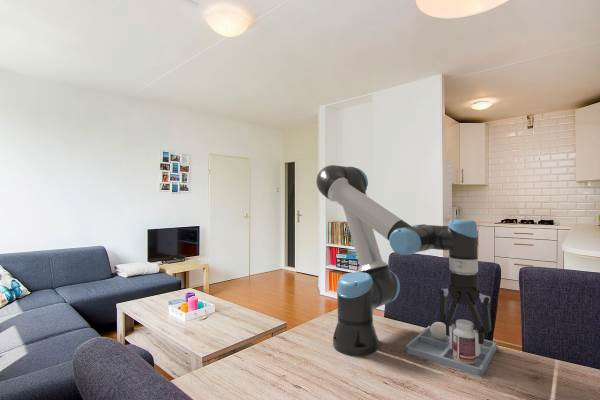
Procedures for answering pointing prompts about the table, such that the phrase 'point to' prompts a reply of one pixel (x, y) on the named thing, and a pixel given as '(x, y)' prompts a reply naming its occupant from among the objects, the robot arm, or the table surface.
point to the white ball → (438, 331)
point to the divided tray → (448, 352)
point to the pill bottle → (464, 342)
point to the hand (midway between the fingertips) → (464, 350)
